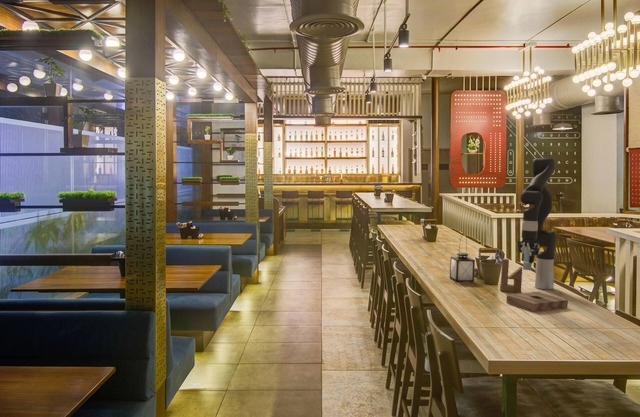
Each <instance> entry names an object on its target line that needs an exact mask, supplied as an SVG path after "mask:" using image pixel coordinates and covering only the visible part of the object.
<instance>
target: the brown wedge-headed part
mask: <svg viewBox="0 0 640 417" xmlns="http://www.w3.org/2000/svg"><path fill="white" fill-rule="evenodd" d="M509 263H510V260H509V259H508V258H502V259H501V272H500V273H501V276H500V283H499V291H500V292H505V293H506V292H507V293H509V292H510V293H521V292H522V282H523V281H522V279H523V266H519V267H518V268H517V269H515V270H514V271H513V272H512V273H511V274H510V275H509ZM509 280H513V284H510V283H509V284H508V281H509Z"/></svg>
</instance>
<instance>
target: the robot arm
mask: <svg viewBox="0 0 640 417" xmlns="http://www.w3.org/2000/svg"><path fill="white" fill-rule="evenodd" d="M555 165H556V163H555V159H554V158H552V157H537V158H534V159H533V160H532V166H531V167H532V179H531V180H530V183H529V184H528V185H527V187H526V188H525V189H523V191H522V192H521V194H520V196H519V197H520V199H519V200H520V202H521V203H522V204H524V205H532V206H533V207H532V208H527V209H524V210H523V213H522V214H523V215H522V224H521V241H518V240H517V247H518V252H519V253H520V254H521V261H522V262H523V261H524V246H527V247H528V251H529V254H530V256H529V263H532V264H533V263H534V262H535V263H536V264H535V279H534V287H535V288H536V289H539V290H552V289H554V288H555V286H554V285H555V272H554V266H555V265H554V261H555V255H556V244H557V234H556V232H555V231H553V230H552V231H551V230H544V224H545V221H546V219H547V218H548V217H549V215H550V213H551V212H552V210H553V197H552V195H551V193H550V191H549V190H548V189H547V187H546V183H548V181H549V179H550V178H551V177H552V176H553V174H554V172H555V168H556V166H555ZM541 247H544V248H545V247H546V249H545V250H543V251H540V250H541V249H540V248H541ZM531 249H533V250H531ZM535 256H536V258H535ZM535 260H536V261H535Z"/></svg>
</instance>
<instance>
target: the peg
mask: <svg viewBox="0 0 640 417" xmlns="http://www.w3.org/2000/svg"><path fill="white" fill-rule="evenodd" d="M531 250H533V249H531ZM529 256H530V254H529V251H528V247H527V246H524V261H522V263H523V264H522V265H523V266H522V270H525V271H531V270H532V264H533V263H529Z"/></svg>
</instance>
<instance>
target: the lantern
mask: <svg viewBox="0 0 640 417" xmlns="http://www.w3.org/2000/svg"><path fill="white" fill-rule="evenodd" d="M464 235H465V238H466V240H465V241H466V244H465V245H466V246H465V248H466V249H465V250H467V248H468V247H467V245H468V244H467V243H468V242H467V241H468V240H467V238H468V237H467V235H466V234H462V235H461V237H460V239H459V240H460V241H461V240H462V237H463V236H464ZM460 246H461V245H459V248H458V251H459V252H457V253H456V255H457V256H450V263H449V264H450V266H449V278H450V279H451V280H453V281H454V282H456V283H459V282H461V283H462V282H464V283H465V282H466V281H474V282H475V268H476V267H475V264H476V262H475V261H476V259H473V258H472V257H469V253H467V252H460V250H461V249H460V248H461V247H460Z"/></svg>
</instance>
